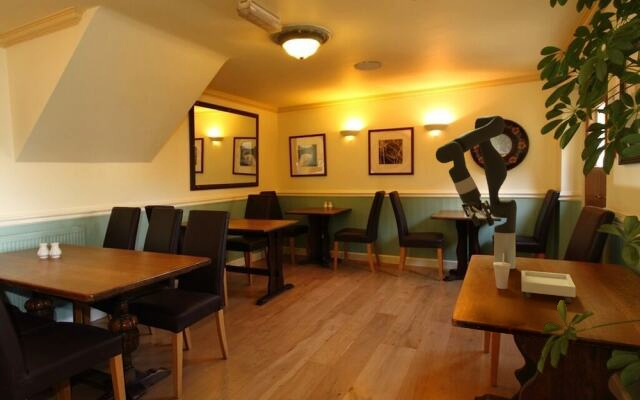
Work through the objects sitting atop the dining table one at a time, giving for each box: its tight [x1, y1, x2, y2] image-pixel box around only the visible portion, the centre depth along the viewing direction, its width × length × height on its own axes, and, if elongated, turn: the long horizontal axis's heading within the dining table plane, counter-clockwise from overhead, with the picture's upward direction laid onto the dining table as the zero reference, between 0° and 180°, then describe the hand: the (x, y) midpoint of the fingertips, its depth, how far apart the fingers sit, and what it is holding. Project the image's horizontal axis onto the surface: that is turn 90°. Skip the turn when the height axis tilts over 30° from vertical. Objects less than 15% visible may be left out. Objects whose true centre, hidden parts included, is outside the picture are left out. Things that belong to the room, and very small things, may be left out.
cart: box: [520, 270, 577, 304], centre depth 137 cm, size 18×16×6 cm
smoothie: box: [492, 253, 511, 290], centre depth 148 cm, size 6×6×14 cm
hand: (484, 225), depth 148 cm, fingers open, 8 cm apart
